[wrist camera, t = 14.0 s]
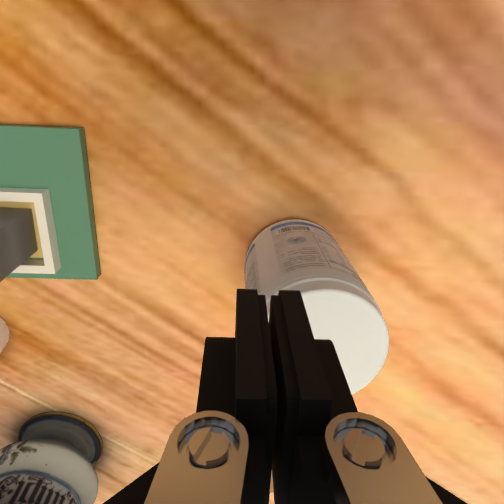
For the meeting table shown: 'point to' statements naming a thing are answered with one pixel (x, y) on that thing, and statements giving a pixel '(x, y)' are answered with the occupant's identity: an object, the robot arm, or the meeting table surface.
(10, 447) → the apothecary jar
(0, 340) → the white cylinder
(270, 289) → the supplement tub
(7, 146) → the board
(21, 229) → the plug
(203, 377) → the robot arm
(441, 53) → the meeting table surface
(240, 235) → the meeting table surface
